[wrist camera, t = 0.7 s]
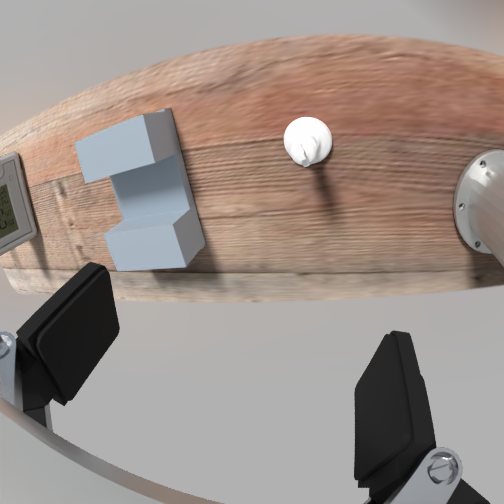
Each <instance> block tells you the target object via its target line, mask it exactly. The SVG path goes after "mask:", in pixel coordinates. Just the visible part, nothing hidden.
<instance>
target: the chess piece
mask: <svg viewBox="0 0 504 504" xmlns="http://www.w3.org/2000/svg"><path fill="white" fill-rule="evenodd" d="M284 145H285V148H286V151H287V152H288V154H289V155H290V156H291V157H292V159H293V160H294V161H295V162H296V163H297V164H300V165H303V166H304V167H306V166H309V165H310V164H314V163H317V162H320V161H321V160H323V159H324V158H325V157H326V156H327V155H328V154H329V152H330V150H331V147H332V136H331V133H330V131H329V129H328V127H327V126H326V125H325V124H324V123H323V122H322V121H320V120H318V119H316V118H312V117H302V118H299V119H296V120H294V121H293V122H292V123H291V124H290V125H289V126H288V127H287V129H286V131H285V134H284Z"/></svg>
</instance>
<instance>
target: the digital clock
mask: <svg viewBox="0 0 504 504" xmlns="http://www.w3.org/2000/svg"><path fill="white" fill-rule="evenodd" d="M33 216H34V214H33V211H32V207H31V203H30V199H29V196H28V192H27V187H26V183H25V179H24V174H23V170H22V169H21V165H20V160H19V155H18V153H17V152H11V153H8V154H5V155H3V156H0V256H1V255H3V254H4V253H6V252H8V251H10V250H12V249H13V248H15V247H17V246H19V245H21V244H23V243H24V242H26V241H28V240H30V239H32V238H34V237H35V236H36V235H37V228H36V225H35V221H34V218H33Z"/></svg>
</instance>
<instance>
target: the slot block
mask: <svg viewBox="0 0 504 504" xmlns="http://www.w3.org/2000/svg"><path fill="white" fill-rule="evenodd" d="M74 144H75V148H76V151H77V155H78V159H79V162H80V166H81V169H82V173H83V176H84V179H85V183H89V182H92V181H95V180H98V179H101V178H104V177H107V176H110V180H111V183H112V186H113V189H114V193H115V196H116V199H117V202H118V205H119V208H120V211H121V214H122V217H123V221H121V222H120V223H119V224H117V225H116V226H114V227H113V228H112V229H110V230H109V231H108V232H106V233H105V234H104V235H103V236H104V238H105V241H106V243H107V246H108V249H109V251H110V254H111V256H112V259H113V261H114V264H115V266H116V268H117V271H130V270H148V269H164V268H181V267H187V266H188V264H189V263H190V262H191V260H192V259H193V258H194V257H195V255H196V254H197V253H198V251H199V250H202V249H203V247H204V246H205V245H206V243H205V239H204V236H203V232H202V229H201V225H200V221H199V218H198V214H197V210H196V207H195V203H194V199H193V196H192V192H191V188H190V184H189V180H188V176H187V173H186V169H185V165H184V161H183V157H182V153H181V149H180V145H179V141H178V137H177V133H176V128H175V124H174V120H173V116H172V111H171V108H168V109H163V110H160V111H157V112H154V113H148V114H142V115H140V116H137V117H134V118H132V119H129V120H126V121H124V122H121V123H119V124H116V125H114V126H111V127H109V128H106V129H104V130H102V131H99V132H97V133H95V134H92V135H90V136H88V137H86V138H84V139H81V140H79V141H77V142H75V143H74Z"/></svg>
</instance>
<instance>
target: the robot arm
mask: <svg viewBox="0 0 504 504" xmlns="http://www.w3.org/2000/svg"><path fill="white" fill-rule="evenodd" d="M480 162H481V164H480ZM460 204H461V205H460ZM459 205H460V206H459ZM453 211H454V219H455V223H456V227H457V229H458V231H459V233H460V235H461V236H462V238H463V239H464V240H465V242H466V243H467V244H468V245H469V246H470V247H471V248H473V249H474V250H476V251H479V252H481V253H486V254H493V255H494V256H495V257H496V258H497V260H498V261H499V262H500V263H501V265H502V266H503V267H504V150H499V149H493V150H489V151H485V152H483V153H481V154H479V155H478V156H476V157H475V158H474V159H473V160H471V162H470V163H469V164H468V165H467V166H466V168H465V169H464V171H463V173H462V174H461V176H460V178H459V181H458V183H457V186H456V190H455V194H454V202H453ZM119 329H120V327H119V323H118V318H117V312H116V307H115V302H114V297H113V291H112V285H111V279H110V274H109V272H108V271H107V269H106V267H105V266H103V265H100V264H96V263H93V262H89V263H88V264H87V265H85V266H84V267H83V268H82V269H81V270H80V271H79V272H78V273H76V274H75V275H74V276H73V277H72V278H71V279H70V280H69V281H68V282H67V283H65V284H64V285H63V286H62V287H61V288H60V289H59V290H58V291H57V292H56V293H55V294H54V295H53V296H52V297H51V298H50V299H49V300H48V301H46V302H45V303H44V304H43V305H42V306H41V308H39V309H38V310H37V311H36V312H35V313H34V314H33V315H32V316H31V317H30V318H29V320H27V321H26V322H25V323H24V324H23V326H22V327H21V328H20V329H19V330H18V331H17V332H16V333H17V335H18V338H17V339H16V340H15V338H14V336H13V335H12V334H11V333H8V332H0V504H223V503H218V502H215V501H211V500H207V499H203V498H200V497H196V496H193V495H190V494H186V493H183V492H180V491H177V490H174V489H171V488H168V487H165V486H163V485H160V484H157V483H154V482H152V481H149V480H147V479H144V478H142V477H139V476H137V475H134V474H132V473H129V472H127V471H125V470H123V469H121V468H118V467H116V466H114V465H112V464H110V463H108V462H106V461H104V460H102V459H100V458H97V457H96V456H94V455H91V454H90V453H88V452H86V451H84V450H82V449H80V448H79V447H77V446H75V445H73V444H72V443H70V442H68V441H67V440H64V439H63V438H62V437H60V436H58V435H57V434H55V433H53V430H52V422H51V414H50V406H49V402H50V401H51V399H52V398H53V399H54V400H55V401H57V402H58V403H60V404H62V405H63V406H65V405H66V403H67V401H71V400H72V399H73V398H74V397H75V395H76V394H77V392H78V391H79V389H80V388H81V387H82V385H83V384H84V382H85V380H86V379H87V378H88V376H89V375H90V374H91V372H92V371H93V369H94V368H95V366H96V365H97V364H98V362H99V361H100V359H101V358H102V357H103V355H104V354H105V352H106V351H107V350H108V348H109V347H110V345H111V344H112V343H113V341H114V340H115V338H116V337H117V336H118V333H119ZM461 476H462V463H461V460H460V458H459V456H458V455H457V454H456V453H455V452H454V451H453V450H451V449H449V448H444V447H440V448H436V441H435V435H434V429H433V423H432V417H431V411H430V406H429V401H428V396H427V391H426V387H425V382H424V379H423V377H422V376H421V374H420V370H419V366H418V362H417V358H416V354H415V350H414V346H413V343H412V339H411V336H410V334H409V333H406V332H400V331H392V332H391V333H390V334H386V335H385V336H384V338H383V340H382V341H381V343H380V345H379V347H378V349H377V351H376V352H375V354H374V356H373V358H372V359H371V361H370V363H369V365H368V366H367V368H366V370H365V371H364V373H363V375H362V377H361V378H360V380H359V381H358V383H357V385H356V388H355V462H354V478H355V480H358V488H369V498H368V500H367V501H366V502H365V503H364V504H490V503H489V501H487V500H486V499H485V498H484V497H482V496H481V495H480V494H479V493H478V492H477V491H476V490H474V489H473V488H472V487H471V486H469V485H468V484H467V483H466V482H465V481H464V480H462V479H461Z"/></svg>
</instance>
